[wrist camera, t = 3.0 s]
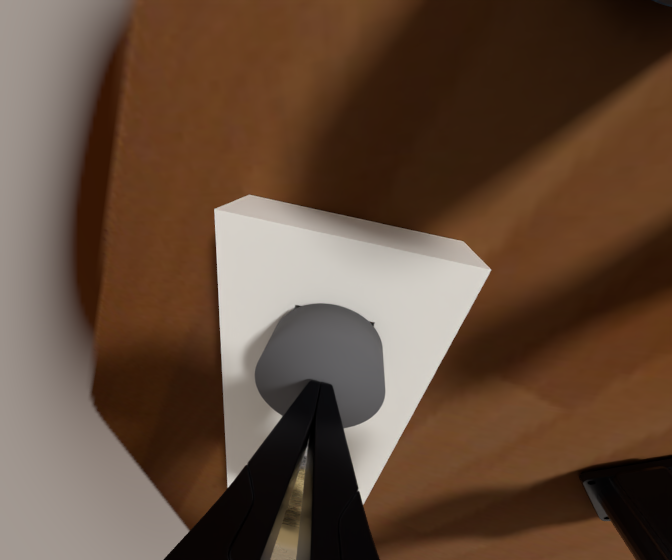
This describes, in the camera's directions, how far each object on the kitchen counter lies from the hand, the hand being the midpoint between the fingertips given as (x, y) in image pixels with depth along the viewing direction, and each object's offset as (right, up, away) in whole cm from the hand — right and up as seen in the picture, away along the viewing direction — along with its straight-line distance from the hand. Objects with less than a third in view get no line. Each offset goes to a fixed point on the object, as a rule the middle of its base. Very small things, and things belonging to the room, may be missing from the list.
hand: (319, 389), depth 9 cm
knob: (+1, +2, +4) cm, 5 cm away
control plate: (-1, -4, +9) cm, 10 cm away
